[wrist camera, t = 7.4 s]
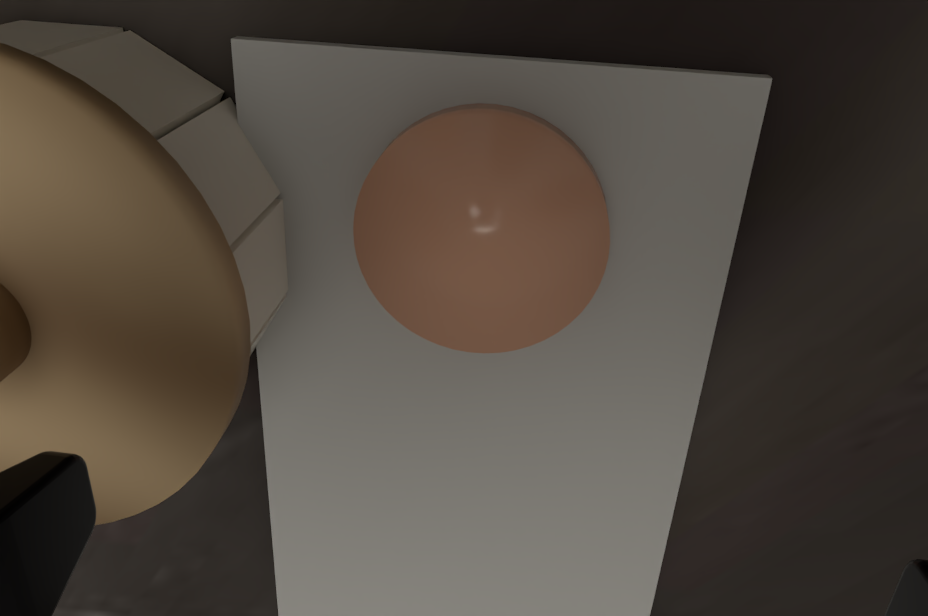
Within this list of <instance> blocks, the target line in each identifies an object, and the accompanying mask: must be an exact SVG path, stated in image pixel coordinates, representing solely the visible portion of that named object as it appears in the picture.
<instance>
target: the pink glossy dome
mask: <svg viewBox="0 0 928 616" xmlns="http://www.w3.org/2000/svg"><path fill="white" fill-rule="evenodd" d="M353 235H354V246H355V251H356V256H357V260H358V263H359V266H360V269H361V272H362V274H363V276H364V278H365V281H366V283H367V285H368V287H369V288H370V290H371V291H372V293H373V294H374V296H375V297H376V299H377V300H378V301H379V303H380V304H381V305H382V306H383V307H384V309H385V310H386V311H387V312H388V313H389V314H390V315H391V316H392V317H393V318H395V319H396V320H397V321H398V322H399V323H400V324H402V325H403V326H404V327H406V328H407V329H408V330H410V331H411V332H413V333H415V334H417V335H418V336H420V337H422V338H424V339H426V340H428V341H430V342H433V343H435V344H437V345H440V346H444V347H447V348H450V349H453V350H459V351H464V352H471V353H501V352H508V351H514V350H518V349H522V348H525V347H529V346H532V345H534V344H537V343H539V342H541V341H544V340H546V339H547V338H549V337H551V336H553V335H555V334H556V333H558V332H559V331H561V330H562V329H563V328H565V327H566V326H567V325H569V324H570V323H571V322H572V321H573V320H574V319H575V318H576V317H577V316H578V315H579V314H580V313H581V312H582V311H583V310H584V309H585V307H586V306H587V305H588V303H589V302H590V301H591V299H592V298H593V296H594V294H595V293H596V291H597V289H598V287H599V285H600V283H601V280H602V278H603V275H604V273H605V269H606V265H607V261H608V257H609V248H610V226H609V219H608V212H607V206H606V200H605V195H604V192H603V189H602V186H601V183H600V180H599V178H598V176H597V174H596V172H595V170H594V168H593V166H592V164H591V163H590V161H589V160H588V158H587V157H586V155H585V154H584V153H583V151H582V150H581V149H580V148H579V147H578V146H577V145H576V144H575V142H574V141H573V140H572V139H571V138H569V137H568V136H567V135H566V134H565V133H564V132H562V131H561V130H560V129H559V128H557V127H556V126H554V125H552V124H551V123H549V122H548V121H546V120H545V119H542V118H540V117H538V116H536V115H534V114H532V113H530V112H527V111H524V110H520V109H517V108H514V107H510V106H504V105H498V104H484V103H476V104H465V105H458V106H454V107H449V108H445V109H442V110H440V111H437V112H434V113H431V114H429V115H427V116H425V117H423V118H421V119H420V120H418V121H416V122H414V123H413V124H411V125H410V126H409V127H407V128H406V129H405V130H403V131H402V132H401V133H400V134H399V135H398V136H397V137H396V138H395V139H394V140H393V141H392V142H391V143H390V144H389V145H388V146H387V148H386V149H385V150H384V152H383V153H382V154H381V155H380V157H379V158H378V160H377V161H376V163H375V164H374V165H373V167H372V168H371V170H370V172H369V174H368V175H367V177H366V179H365V181H364V183H363V185H362V188H361V190H360V193H359V196H358V199H357V203H356V208H355V212H354V223H353Z"/></svg>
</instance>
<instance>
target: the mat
mask: <svg viewBox="0 0 928 616" xmlns="http://www.w3.org/2000/svg"><path fill="white" fill-rule="evenodd" d="M231 49H232V61H233V73H234V85H235V97H236V109H237V121H238V125H239V126H240V128H241V129H242V131H243V133H244V134H245V136H246V138H247V139H248V141H249V142H250V144H251V146H252V147H253V149H254V150H255V152H256V154H257V155H258V157H259V159H260V160H261V162H262V163H263V165H264V167H265V168H266V170H267V171H268V173H269V175H270V176H271V178H272V179H273V181H274V183H275V184H276V186H277V188H278V189H279V191H280V192H281V193H280V194H279V195H278V196H277V197H276V198H275V199H283V209H284V226H285V243H286V260H287V277H288V291H287V292H286V294H285V295H287V296H286V298H285V299H284V301H283V303H282V304H281V306H280V308H279V309H278V311H277V313H276V314H275V316H274V317H273V319H272V321H271V322H270V324H269V326H268V327H267V329H266V331H265V332H264V334H263V335H262V337H261V339H260V340H259V342H258V344H257V345H256V350H257V362H258V374H259V386H260V398H261V410H262V422H263V434H264V446H265V458H266V470H267V482H268V494H269V506H270V518H271V530H272V542H273V554H274V567H275V579H276V591H277V603H278V615H279V616H650V613H651V608H652V604H653V600H654V595H655V591H656V586H657V582H658V578H659V573H660V569H661V565H662V560H663V556H664V551H665V547H666V543H667V538H668V534H669V530H670V525H671V521H672V516H673V512H674V508H675V503H676V499H677V495H678V490H679V486H680V481H681V477H682V473H683V468H684V464H685V460H686V455H687V451H688V446H689V442H690V438H691V433H692V429H693V424H694V420H695V416H696V411H697V407H698V403H699V398H700V394H701V389H702V385H703V381H704V376H705V372H706V368H707V363H708V359H709V354H710V350H711V346H712V341H713V337H714V333H715V328H716V324H717V319H718V315H719V311H720V306H721V302H722V298H723V293H724V289H725V284H726V280H727V276H728V271H729V267H730V262H731V258H732V254H733V249H734V245H735V241H736V236H737V232H738V227H739V223H740V219H741V214H742V210H743V206H744V201H745V197H746V192H747V188H748V184H749V179H750V175H751V171H752V166H753V162H754V157H755V153H756V149H757V144H758V140H759V136H760V131H761V127H762V122H763V118H764V114H765V109H766V105H767V100H768V96H769V92H770V87H771V83H772V78H771V77H770V76H769V75H763V74H750V73H736V72H722V71H709V70H695V69H681V68H668V67H654V66H640V65H627V64H613V63H599V62H586V61H572V60H558V59H545V58H531V57H517V56H504V55H490V54H476V53H463V52H449V51H435V50H422V49H408V48H394V47H381V46H367V45H354V44H340V43H326V42H313V41H299V40H285V39H272V38H258V37H244V36H236V37H234V38H231ZM476 103H484V104H498V105H504V106H510V107H514V108H517V109H520V110H524V111H527V112H530V113H532V114H534V115H536V116H538V117H540V118H542V119H545V120H546V121H548V122H549V123H551V124H552V125H554V126H556V127H557V128H559V129H560V130H561V131H562V132H564V133H565V134H566V135H567V136H568V137H569V138H571V139H572V140H573V141H574V142H575V144H576V145H577V146H578V147H579V148H580V149H581V150H582V151H583V153H584V154H585V155H586V157H587V158H588V160H589V161H590V163H591V164H592V166H593V168H594V170H595V172H596V174H597V176H598V178H599V180H600V183H601V186H602V189H603V192H604V195H605V200H606V206H607V212H608V219H609V226H610V248H609V257H608V261H607V265H606V269H605V273H604V275H603V278H602V280H601V283H600V285H599V287H598V289H597V291H596V293H595V294H594V296H593V298H592V299H591V301H590V302H589V303H588V305H587V306H586V307H585V309H584V310H583V311H582V312H581V313H580V314H579V315H578V316H577V317H576V318H575V319H574V320H573V321H572V322H571V323H570V324H569V325H567V326H566V327H565V328H563V329H562V330H561V331H559V332H558V333H556V334H555V335H553V336H551V337H549V338H547V339H546V340H544V341H541V342H539V343H537V344H534V345H532V346H529V347H525V348H522V349H518V350H514V351H508V352H501V353H471V352H464V351H459V350H453V349H450V348H447V347H444V346H440V345H437V344H435V343H433V342H430V341H428V340H426V339H424V338H422V337H420V336H418V335H417V334H415V333H413V332H411V331H410V330H408V329H407V328H406V327H404V326H403V325H402V324H400V323H399V322H398V321H397V320H396V319H395V318H393V317H392V316H391V315H390V314H389V313H388V312H387V311H386V310H385V309H384V307H383V306H382V305H381V304H380V303H379V301H378V300H377V299H376V297H375V296H374V294H373V293H372V291H371V290H370V288H369V287H368V285H367V283H366V281H365V278H364V276H363V274H362V272H361V269H360V266H359V263H358V260H357V256H356V251H355V246H354V235H353V223H354V212H355V208H356V203H357V199H358V196H359V193H360V190H361V188H362V185H363V183H364V181H365V179H366V177H367V175H368V174H369V172H370V170H371V168H372V167H373V165H374V164H375V163H376V161H377V160H378V158H379V157H380V155H381V154H382V153H383V152H384V150H385V149H386V148H387V146H388V145H389V144H390V143H391V142H392V141H393V140H394V139H395V138H396V137H397V136H398V135H399V134H400V133H401V132H402V131H403V130H405V129H406V128H407V127H409V126H410V125H411V124H413V123H414V122H416V121H418V120H420V119H421V118H423V117H425V116H427V115H429V114H431V113H434V112H437V111H440V110H442V109H445V108H449V107H454V106H458V105H465V104H476Z"/></svg>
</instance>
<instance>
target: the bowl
mask: <svg viewBox="0 0 928 616" xmlns="http://www.w3.org/2000/svg"><path fill="white" fill-rule="evenodd" d="M0 43H4V44H7V45H9V46H12V47H14V48H17V49H19V50H22V51H24V52H27V53H29V54H32V55H34V56H37V57H39V58H42V59H44V60H46V61H48V62H50V63H52V64H53V65H55V66H57V67H59V68H61V69H63V70H64V71H66V72H68V73H70V74H72V75H74V76H76V77H77V78H79V79H81V80H83V81H84V82H86V83H87V84H88V85H90V86H91V87H93V88H94V89H96V90H97V91H99V92H100V93H101V94H103V95H104V96H106V97H107V98H109V99H110V100H112V101H113V102H114V103H116V104H117V105H118V106H120V107H121V108H122V109H123V110H124V111H125V112H126V113H128V114H129V115H130V116H131V117H132V118H133V119H135V120H136V121H137V122H138V123H139V124H140V125H142V126H143V127H144V128H145V129H146V130H147V131H149V132H150V134H151V135H152V136H153V137H154V138H155V139H156V140H157V141H158V142H159V143H160V144H161V145H162V146H163V147H164V148H165V150H166V151H167V152H168V153H169V154H170V155H171V156H172V157H173V158H174V159H175V160H176V161H177V162H178V164H179V165H180V166H181V168H182V169H183V170H184V172H185V173H186V174H187V176H188V177H189V178H190V180H191V181H192V182H193V184H194V185H195V186H196V188H197V189H198V190H199V192H200V193H201V194H202V196H203V198H204V199H205V201H206V203H207V204H208V206H209V208H210V210H211V211H212V213H213V215H214V216H215V218H216V220H217V221H218V223H219V225H220V226H221V229H222V231H223V233H224V235H225V238H226V240H227V242H228V244H229V246H230V249H231V251H232V253H233V255H234V258H235V261H236V264H237V267H238V270H239V273H240V277H241V280H242V283H243V286H244V290H245V295H246V301H247V307H248V313H249V319H250V341H251V353H250V356H251V354H252V353H253V351H254V350H255V348H256V345H257V344H258V342H259V340H260V339H261V337H262V335H263V334H264V332H265V331H266V329H267V327H268V326H269V324H270V322H271V321H272V319H273V317H274V316H275V314H276V313H277V311H278V309H279V308H280V306H281V304H282V303H283V301H284V299H285V298H286V296H287V295H285V294H286V292H287V291H288V277H287V260H286V243H285V226H284V209H283V199H275V198H276V197H277V196H278V195H279V194H280V193H281V192H280V191H279V189H278V188H277V186H276V184H275V183H274V181H273V179H272V178H271V176H270V175H269V173H268V171H267V170H266V168H265V167H264V165H263V163H262V162H261V160H260V159H259V157H258V155H257V154H256V152H255V150H254V149H253V147H252V146H251V144H250V142H249V141H248V139H247V138H246V136H245V134H244V133H243V131H242V129H241V128H240V126H239V125H238V121H237V109H236V106H235V104H234V102H233V101H232V99H231V98H230V97H229V98H227V99H225V100H224V101H222V102H220V100H221V98H222V96H223V94H224V92H225V91H223V90H222V89H220V88H219V87H217V86H216V85H214V84H213V83H211V82H209V81H208V80H206V79H205V78H203V77H202V76H200V75H199V74H197V73H196V72H194V71H192V70H191V69H189V68H188V67H186V66H185V65H183V64H182V63H180V62H178V61H177V60H175V59H174V58H172V57H171V56H169V55H168V54H166V53H165V52H163V51H161V50H160V49H158V48H157V47H155V46H154V45H152V44H151V43H149V42H148V41H146V40H144V39H143V38H141V37H140V36H138V35H137V34H135V33H134V32H132V31H131V30H129V31H125V32H123V28H121V27H108V26H94V25H80V24H67V23H53V22H39V21H26V20H20V21H15V22H11V23H6V24H2V25H0ZM219 102H220V103H219Z"/></svg>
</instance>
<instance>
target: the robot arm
mask: <svg viewBox="0 0 928 616" xmlns="http://www.w3.org/2000/svg"><path fill="white" fill-rule="evenodd" d="M95 522H96V505H95V501H94V496H93V492H92V487H91V482H90V478H89V473H88V469H87V465H86V462H85V461H84V459H83V458H82V457H81V456H79V455H77V454H71V453H63V452H54V451H45V452H41V453H39V454H37V455H35V456H33V457H31V458H28V459H26V460H24V461H22V462H20V463H18V464H16V465H14V466H12V467H10V468H8V469H6V470H4V471H1V472H0V616H52V614H53V612H54V610H55V608H56V606H57V604H58V602H59V600H60V598H61V596H62V594H63V592H64V590H65V588H66V586H67V583H68V581H69V579H70V577H71V575H72V573H73V571H74V569H75V567H76V565H77V563H78V561H79V559H80V557H81V555H82V552H83V550H84V548H85V546H86V544H87V542H88V540H89V538H90V536H91V534H92V531H93V529H94V526H95ZM885 616H928V560H922V559H916V560H912V561H910V562H909V563H908V564H907V565H906V567H905V569H904V570H903V573H902V575H901V577H900V580H899V582H898V584H897V587H896V589H895V591H894V594H893V596H892V598H891V601H890V603H889V605H888V608H887V610H886V613H885Z"/></svg>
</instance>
